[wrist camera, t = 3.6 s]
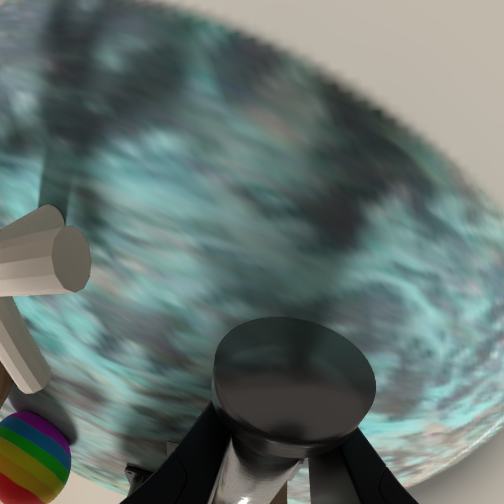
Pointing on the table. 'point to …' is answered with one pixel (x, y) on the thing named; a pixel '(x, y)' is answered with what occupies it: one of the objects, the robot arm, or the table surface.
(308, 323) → the shaft
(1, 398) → the cupcake
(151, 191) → the table surface
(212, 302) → the table surface
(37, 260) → the pipe connector
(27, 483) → the decorative egg
